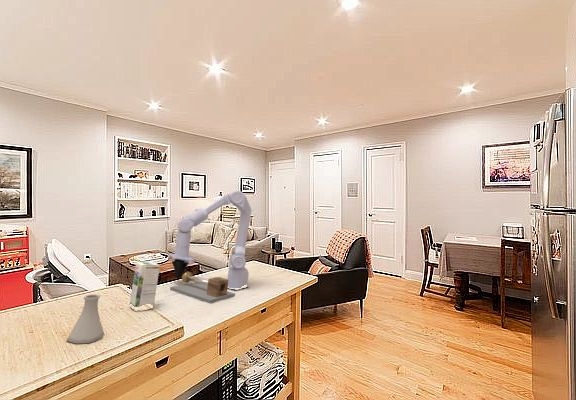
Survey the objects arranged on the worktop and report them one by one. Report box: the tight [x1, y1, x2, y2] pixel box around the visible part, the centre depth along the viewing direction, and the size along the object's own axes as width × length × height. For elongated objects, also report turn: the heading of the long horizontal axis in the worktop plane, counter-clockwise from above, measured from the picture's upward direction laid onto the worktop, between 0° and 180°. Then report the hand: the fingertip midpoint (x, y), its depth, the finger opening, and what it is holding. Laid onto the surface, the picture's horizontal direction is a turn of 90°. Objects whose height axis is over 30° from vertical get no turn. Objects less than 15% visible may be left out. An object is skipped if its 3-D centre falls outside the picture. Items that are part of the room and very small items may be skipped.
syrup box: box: [129, 260, 161, 307], centre depth 92 cm, size 6×6×14 cm
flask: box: [66, 293, 105, 344], centre depth 69 cm, size 7×7×10 cm
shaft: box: [181, 271, 208, 286], centre depth 117 cm, size 4×17×4 cm, turn 61°
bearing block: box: [207, 276, 229, 297], centre depth 112 cm, size 6×5×6 cm
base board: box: [169, 282, 236, 304], centre depth 116 cm, size 14×22×1 cm, turn 61°
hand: (178, 277), depth 123 cm, fingers closed
